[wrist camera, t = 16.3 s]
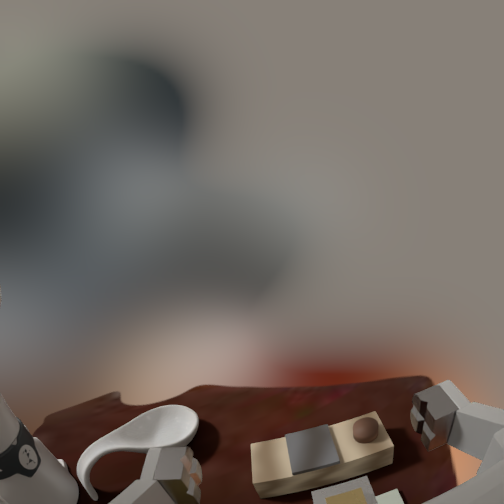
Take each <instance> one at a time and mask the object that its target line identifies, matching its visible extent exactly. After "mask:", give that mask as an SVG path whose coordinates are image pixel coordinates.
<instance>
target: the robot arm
mask: <svg viewBox="0 0 504 504" xmlns="http://www.w3.org/2000/svg"><path fill="white" fill-rule="evenodd" d="M0 307H1V286H0ZM412 403H413V405H414V407H413V408H412V410H411V416H410V417H411V423H412V425H413V428H414V430H415V431H416V432H417V433H419V434H422V437H421V441H422V443H423V444H424V446H425V447H426V449H427V451H430V450H433V449H435V448H437V447H439V446H442V445H444V444H446V443H448V444H449V445H451V446H453V447H455V448H457V449H459V450H461V451H463V452H465V453H467V454H469V455H472V456H474V457H476V458H478V459H480V460H482V463H481V465H480V467H479V469H478V471H477V476H475V477H473V478H472V479H470V480H468V481H466V482H464V483H463V484H461V485H459V486H457V487H455V488H453V489H451V490H449V491H448V492H446V493H444V494H442V495H439V496H437V497H435V498H433V499H431V500H429V501H427V502H424V503H422V504H504V410H503V409H499V408H496V407H491V406H488V405H484V404H480V403H477V402H472V403H470V402H469V400H468V399H467V398H466V397H465V396H464V395H463V394H462V393H461V392H460V390H459V389H458V388H456V386H455V385H454V384H453V383H452V382H451V381H450V380H447V381H444V382H442V383H440V384H437V385H435V386H433V387H430V388H428V389H426V390H423V391H421V392H419V393H416V394H414V395H413V398H412ZM201 482H202V471H201V466H200V464H199V462H198V460H197V459H195V458H193V451H192V450H191V448H190V447H170V448H150V449H149V450H148V453H147V456H146V460H145V463H144V467H143V470H142V474H141V478H140V480H136V481H134V482H133V483H132V484H131V485H130V486H129V487H127V488H126V489H125V490H124V491H123V492H122V493H120V494H119V495H118V496H117V497H116V498H114V499H113V500H112V501H111V502H110V503H108V504H200V494H201V490H200V489H199V487H198V485H199V484H200V483H201ZM78 496H79V489H78V485H77V482H76V480H75V479H74V478H73V477H72V475H71V474H70V473H69V472H68V467H67V464H66V463H65V462H64V461H63V460H62V459H56V458H55V457H54V456H53V455H52V453H51V452H50V451H49V450H48V449H47V448H46V447H45V446H44V445H43V444H42V443H41V441H40V440H39V439H38V438H36V437H32V435H31V434H30V433H29V430H28V429H27V427H26V426H25V425H24V424H23V423H22V422H21V420H20V419H19V418H17V417H15V415H14V414H13V412H12V411H11V409H10V408H9V406H8V405H7V403H6V401H5V400H4V398H3V396H2V395H1V393H0V504H77V501H78Z"/></svg>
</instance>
